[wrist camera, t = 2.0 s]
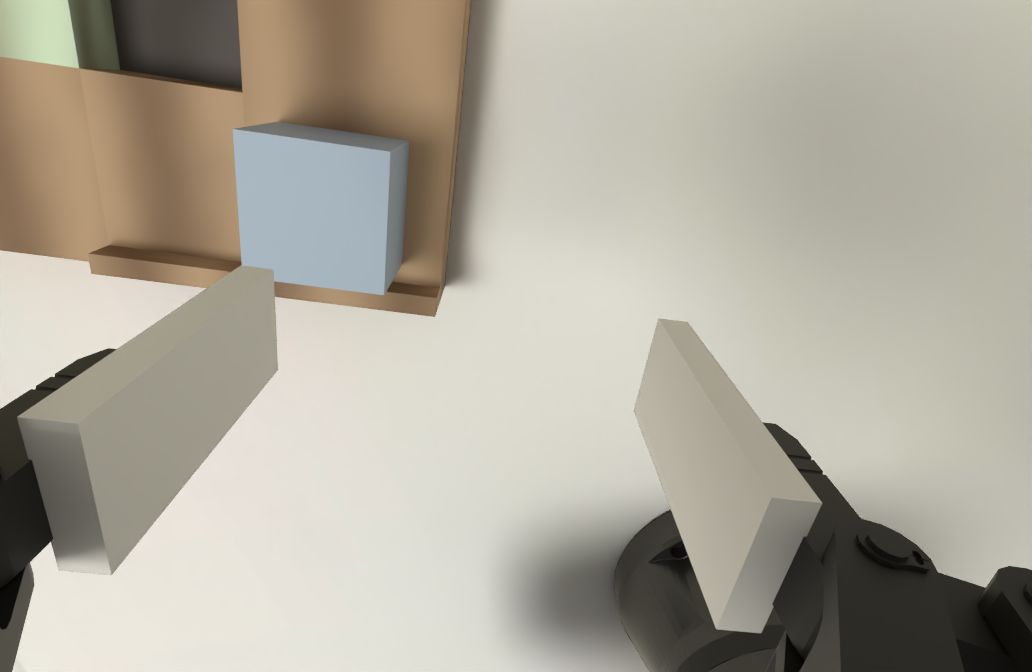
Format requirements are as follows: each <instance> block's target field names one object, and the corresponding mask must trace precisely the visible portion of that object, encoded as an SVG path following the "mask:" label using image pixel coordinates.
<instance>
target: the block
mask: <svg viewBox="0 0 1032 672" xmlns="http://www.w3.org/2000/svg"><path fill="white" fill-rule="evenodd" d="M233 141H234V157H235V172H236V187H237V202H238V217H239V232H240V247H241V262H242V266H250V267H258V268H266V269H274V281H276V282H284V283H291V284H299V285H307V286H315V287H323V288H331V289H339V290H346V291H354V292H362V293H370V294H378V295H384V294H385V293H386V291H387V289H388V288H389V286H390V284H391V283H392V281H393V279H394V278H395V276H396V274H397V273H398V271H399V269H400V267H401V266H402V261H403V244H404V227H405V210H406V193H407V176H408V159H409V141H407V140H400V139H393V138H386V137H380V136H373V135H366V134H359V133H352V132H346V131H339V130H332V129H325V128H318V127H311V126H305V125H298V124H291V123H284V122H272V123H266V124H260V125H254V126H248V127H241V128H235V129H233Z"/></svg>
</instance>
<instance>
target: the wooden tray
mask: <svg viewBox="0 0 1032 672" xmlns="http://www.w3.org/2000/svg"><path fill="white" fill-rule="evenodd" d="M470 7H471V0H0V250H3V251H11V252H19V253H27V254H35V255H42V256H50V257H58V258H66V259H74V260H82V261H89V263H90V268H91V274H99V275H106V276H114V277H122V278H130V279H138V280H146V281H154V282H162V283H170V284H178V285H186V286H194V287H202V288H208V287H210V286H211V285H213V284H214V283H216V282H217V281H219V280H220V279H222V278H223V277H224V276H226V275H227V274H229V273H230V272H232V271H233V270H235V269H236V268H238V267H239V266H241V265H242V262H241V247H240V232H239V217H238V202H237V187H236V172H235V157H234V141H233V129H235V128H241V127H248V126H254V125H260V124H266V123H272V122H284V123H291V124H298V125H305V126H311V127H318V128H325V129H332V130H339V131H346V132H352V133H359V134H366V135H373V136H380V137H386V138H393V139H400V140H407V141H409V159H408V176H407V193H406V210H405V227H404V244H403V261H402V266H401V267H400V269H399V271H398V273H397V274H396V276H395V278H394V279H393V281H392V283H391V284H390V286H389V288H388V289H387V291H386V293H385V294H384V295H378V294H370V293H362V292H354V291H346V290H339V289H331V288H323V287H315V286H307V285H299V284H291V283H284V282H276V281H274V292H275V297H282V298H290V299H298V300H306V301H313V302H321V303H329V304H337V305H345V306H353V307H361V308H369V309H377V310H385V311H393V312H401V313H409V314H417V315H425V316H433V317H435V315H436V312H437V309H438V305H439V302H440V299H441V296H442V293H443V290H444V287H445V276H446V266H447V255H448V244H449V233H450V222H451V212H452V201H453V190H454V179H455V169H456V158H457V147H458V136H459V126H460V115H461V104H462V93H463V83H464V72H465V61H466V50H467V40H468V29H469V18H470Z"/></svg>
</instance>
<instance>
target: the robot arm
mask: <svg viewBox="0 0 1032 672" xmlns="http://www.w3.org/2000/svg"><path fill="white" fill-rule="evenodd" d="M277 370H278V361H277V338H276V315H275V292H274V269H266V268H258V267H250V266H242V265H241V266H239V267H238V268H236V269H235V270H233V271H232V272H230V273H229V274H227V275H226V276H224V277H223V278H222V279H220V280H219V281H217V282H216V283H214V284H213V285H211V286H210V287H208V288H207V289H205V290H204V291H202V292H201V293H199V294H198V295H196V296H195V297H193V298H192V299H191V300H189V301H188V302H186V303H185V304H183V305H182V306H180V307H179V308H177V309H176V310H174V311H173V312H171V313H170V314H168V315H167V316H165V317H164V318H162V319H161V320H159V321H158V322H157V323H155V324H154V325H152V326H151V327H149V328H148V329H146V330H145V331H143V332H142V333H140V334H139V335H137V336H136V337H134V338H133V339H131V340H130V341H128V342H127V343H125V344H124V345H123V346H121V347H120V348H118V349H109V348H108V349H106V350H103V351H100V352H97V353H94V354H92V355H89V356H86V357H83V358H81V359H78V360H76V361H75V362H73V363H72V364H70V365H68V366H67V367H65V368H64V369H62V370H61V371H59V372H58V373H56V374H55V377H50V378H48V379H47V380H45V381H43V382H42V383H40V384H39V385H37V386H36V389H35V390H32V389H31V390H29V391H28V392H26V393H25V394H23V395H22V396H20V397H18V398H17V399H15V400H14V401H12V402H11V403H9V404H7V405H6V406H4V407H3V408H1V409H0V672H12V670H13V666H14V662H15V658H16V654H17V650H18V646H19V642H20V638H21V635H22V631H23V627H24V623H25V619H26V615H27V611H28V607H29V603H30V599H31V595H32V592H33V588H34V577H33V571H32V568H31V565H30V561H31V560H32V559H33V558H34V557H35V556H37V555H38V554H39V553H40V552H41V551H42V550H43V549H44V548H45V547H46V546H47V545H48V544H49V543H50V542H51V543H52V547H53V551H54V554H55V558H56V562H57V565H58V569H59V570H60V571H71V572H82V573H93V574H104V575H112V574H113V573H114V571H115V570H116V569H117V568H118V567H119V565H120V564H121V563H122V562H123V560H124V559H125V558H126V557H127V555H128V554H129V553H130V552H131V550H132V549H133V548H134V547H135V546H136V544H137V543H138V542H139V541H140V539H141V538H142V537H143V536H144V534H145V533H146V532H147V531H148V530H149V528H150V527H151V526H152V525H153V523H154V522H155V521H156V520H157V518H158V517H159V516H160V515H161V513H162V512H163V511H164V510H165V509H166V507H167V506H168V505H169V504H170V502H171V501H172V500H173V499H174V497H175V496H176V495H177V494H178V492H179V491H180V490H181V489H182V488H183V486H184V485H185V484H186V483H187V481H188V480H189V479H190V478H191V476H192V475H193V474H194V473H195V471H196V470H197V469H198V468H199V467H200V465H201V464H202V463H203V462H204V460H205V459H206V458H207V457H208V455H209V454H210V453H211V452H212V450H213V449H214V448H215V447H216V446H217V444H218V443H219V442H220V441H221V439H222V438H223V437H224V436H225V434H226V433H227V432H228V431H229V430H230V428H231V427H232V426H233V425H234V423H235V422H236V421H237V420H238V418H239V417H240V416H241V415H242V413H243V412H244V411H245V410H246V409H247V407H248V406H249V405H250V404H251V402H252V401H253V400H254V399H255V397H256V396H257V395H258V394H259V392H260V391H261V390H262V389H263V388H264V386H265V385H266V384H267V383H268V381H269V380H270V379H271V378H272V376H273V375H274V374H275V373H276V371H277ZM634 413H635V416H636V419H637V421H638V424H639V426H640V429H641V432H642V434H643V437H644V440H645V442H646V445H647V448H648V450H649V453H650V456H651V458H652V461H653V464H654V466H655V469H656V471H657V474H658V477H659V479H660V482H661V485H662V487H663V490H664V493H665V495H666V498H667V501H668V503H669V506H670V509H671V511H670V512H668V513H666V514H664V515H662V516H661V517H659V518H657V519H656V520H654V521H653V522H651V523H650V524H649V525H647V526H646V527H645V528H644V529H642V530H641V531H640V532H639V533H638V534H637V535H636V536H635V537H634V538H633V539H632V540H631V542H630V543H629V544H628V545H627V547H626V548H625V550H624V552H623V553H622V555H621V557H620V559H619V562H618V564H617V567H616V571H615V577H614V590H615V595H616V600H617V605H618V610H619V614H620V618H621V621H622V624H623V626H624V629H625V631H626V633H627V635H628V636H629V638H630V640H631V641H632V643H633V644H634V646H635V648H636V649H637V651H638V653H639V655H640V656H641V658H642V660H643V661H644V663H645V665H646V666H647V668H648V670H649V671H650V672H1032V570H1029V569H1026V568H1019V567H1012V566H1008V567H1005V568H1001V569H998V571H997V572H996V574H995V575H994V577H993V578H992V580H991V581H990V583H989V584H988V586H987V587H986V588H984V587H981V586H978V585H975V584H972V583H969V582H966V581H963V580H959V579H956V578H953V577H950V576H947V575H944V574H941V573H938V572H937V570H936V568H935V566H934V564H933V563H932V561H931V559H930V558H929V557H928V556H927V555H926V554H925V553H924V552H923V551H922V550H921V549H920V548H919V547H918V546H917V545H916V544H914V543H913V542H911V541H910V540H908V539H907V538H906V537H904V536H903V535H901V534H900V533H898V532H896V531H894V530H892V529H889V528H887V527H885V526H883V525H881V524H878V523H874V522H871V521H867V520H864V519H861V518H860V517H859V516H858V514H857V513H856V512H855V511H854V510H853V508H852V507H851V506H850V505H849V503H848V502H847V501H846V500H845V498H844V497H843V496H842V495H841V493H840V492H839V491H838V490H837V488H836V487H835V486H834V485H833V483H832V482H831V481H830V480H829V479H828V477H827V476H826V475H823V474H822V472H823V471H822V470H821V469H820V467H819V466H818V465H817V464H816V462H815V461H814V460H811V456H810V455H809V454H808V452H807V451H806V450H805V449H804V448H803V446H802V445H801V444H800V443H799V441H798V440H797V439H795V438H794V437H793V436H791V435H790V434H789V433H787V432H786V431H785V430H783V429H782V428H781V427H779V426H778V425H776V424H771V423H763V422H762V421H761V420H760V419H759V417H758V416H757V415H756V413H755V412H754V411H753V409H752V408H751V407H750V405H749V404H748V403H747V401H746V400H745V399H744V397H743V396H742V395H741V393H740V392H739V390H738V389H737V388H736V386H735V385H734V384H733V382H732V381H731V380H730V378H729V377H728V376H727V374H726V373H725V372H724V370H723V369H722V368H721V366H720V365H719V364H718V362H717V361H716V360H715V358H714V357H713V356H712V354H711V353H710V352H709V350H708V349H707V348H706V346H705V345H704V343H703V342H702V341H701V339H700V338H699V337H698V335H697V334H696V333H695V331H694V330H693V329H692V327H691V326H690V325H689V323H688V322H681V321H673V320H666V319H658V322H657V325H656V329H655V333H654V337H653V340H652V344H651V348H650V352H649V355H648V359H647V363H646V367H645V370H644V374H643V378H642V382H641V385H640V389H639V393H638V397H637V400H636V404H635V408H634Z"/></svg>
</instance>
